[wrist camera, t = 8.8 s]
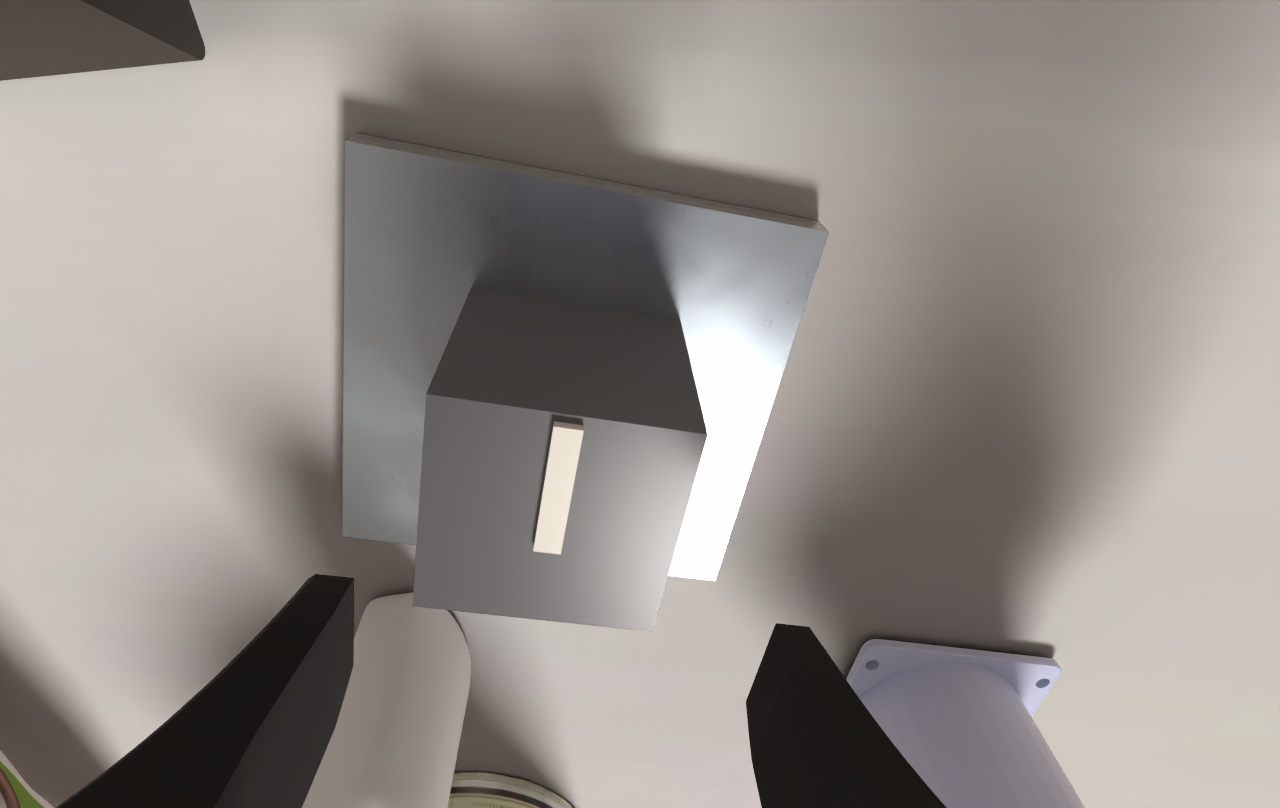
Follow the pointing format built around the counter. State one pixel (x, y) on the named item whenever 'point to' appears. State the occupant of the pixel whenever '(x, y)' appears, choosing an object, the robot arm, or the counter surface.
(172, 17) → the phone stand
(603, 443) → the grey cube with stripe
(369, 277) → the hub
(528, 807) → the coffee can
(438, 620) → the eye dropper bottle
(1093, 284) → the counter surface
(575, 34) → the counter surface
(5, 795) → the pouch
